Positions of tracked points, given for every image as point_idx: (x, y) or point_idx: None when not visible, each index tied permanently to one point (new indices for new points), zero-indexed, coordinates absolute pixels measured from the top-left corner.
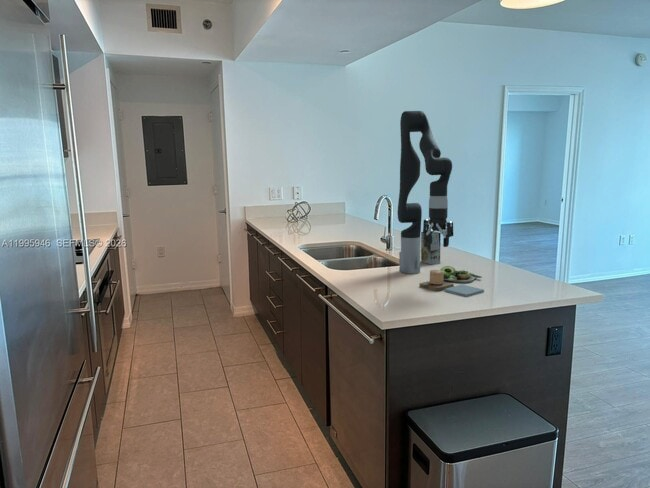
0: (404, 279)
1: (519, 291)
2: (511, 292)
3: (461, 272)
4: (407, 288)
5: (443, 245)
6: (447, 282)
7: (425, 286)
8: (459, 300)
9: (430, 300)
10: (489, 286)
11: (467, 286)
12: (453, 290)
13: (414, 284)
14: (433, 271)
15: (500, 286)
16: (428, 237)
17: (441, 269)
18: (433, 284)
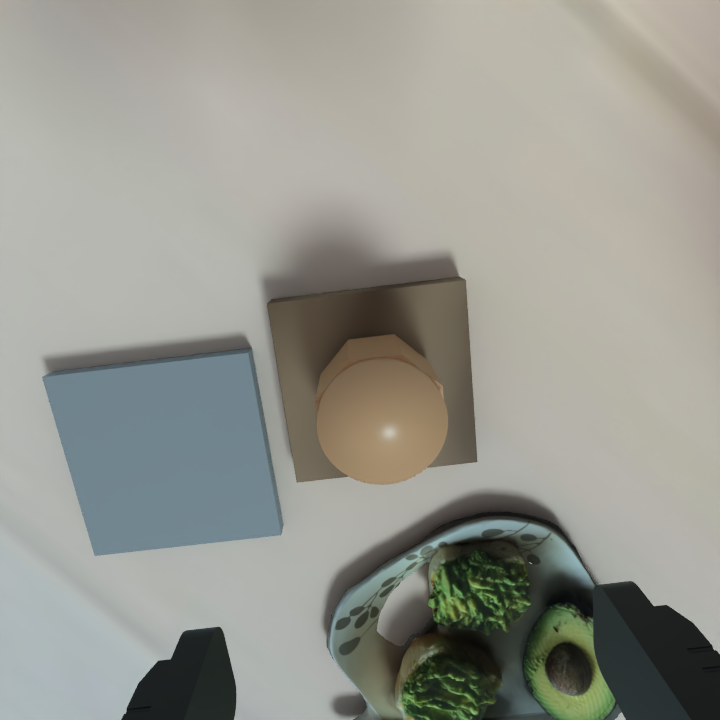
0: (708, 327)
1: (17, 705)
2: (19, 659)
3: (442, 687)
4: (483, 160)
5: (205, 639)
6: None
7: (396, 286)
8: (3, 272)
9: (98, 79)
10: None
11: (215, 526)
12: (178, 376)
13: (539, 292)
14: (401, 401)
15: None
16: (691, 704)
17: None
18: None
